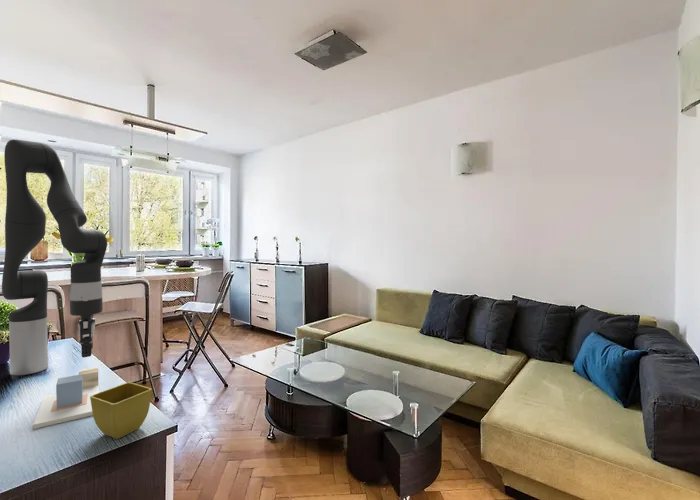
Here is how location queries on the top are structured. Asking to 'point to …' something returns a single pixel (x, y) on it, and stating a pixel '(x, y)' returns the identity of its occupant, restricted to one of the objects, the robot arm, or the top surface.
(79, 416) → the board
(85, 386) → the maple block
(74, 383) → the slate block
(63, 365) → the top surface
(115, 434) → the flower pot
